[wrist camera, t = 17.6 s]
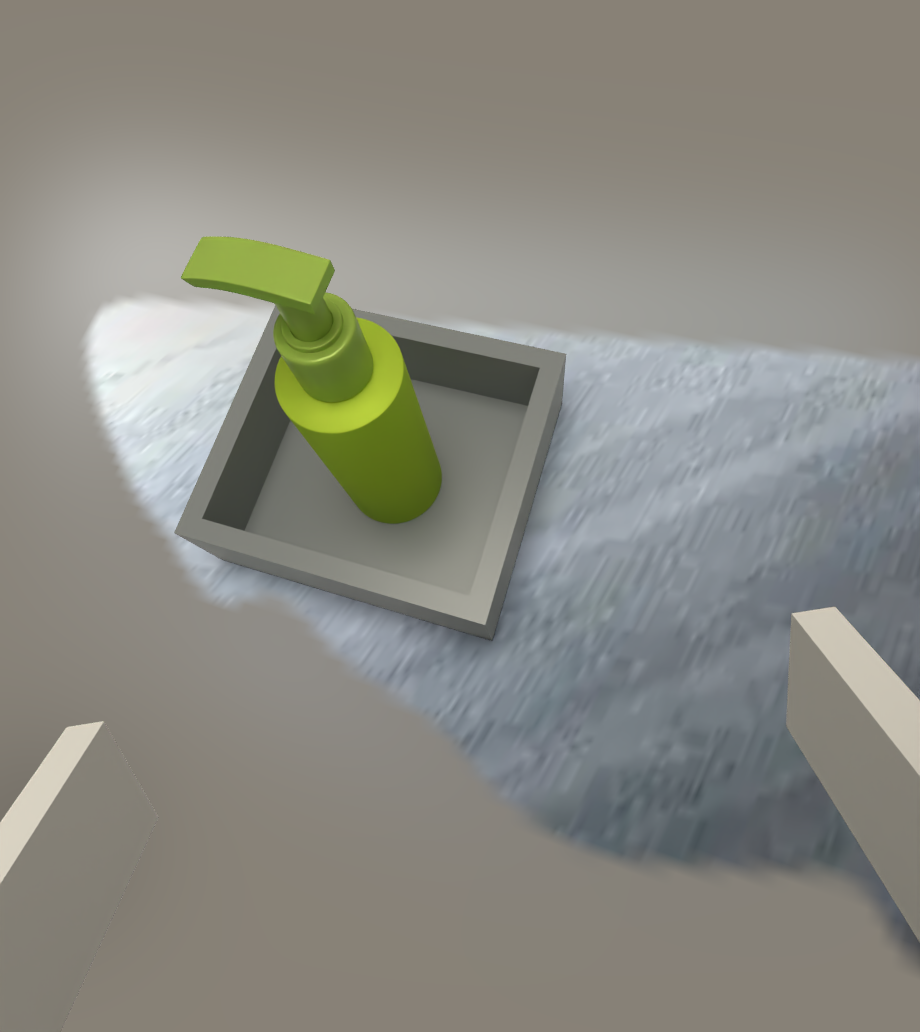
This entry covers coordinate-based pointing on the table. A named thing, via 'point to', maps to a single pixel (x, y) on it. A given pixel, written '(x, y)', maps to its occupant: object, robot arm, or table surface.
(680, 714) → the table surface
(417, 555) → the crate
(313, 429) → the soap dispenser
